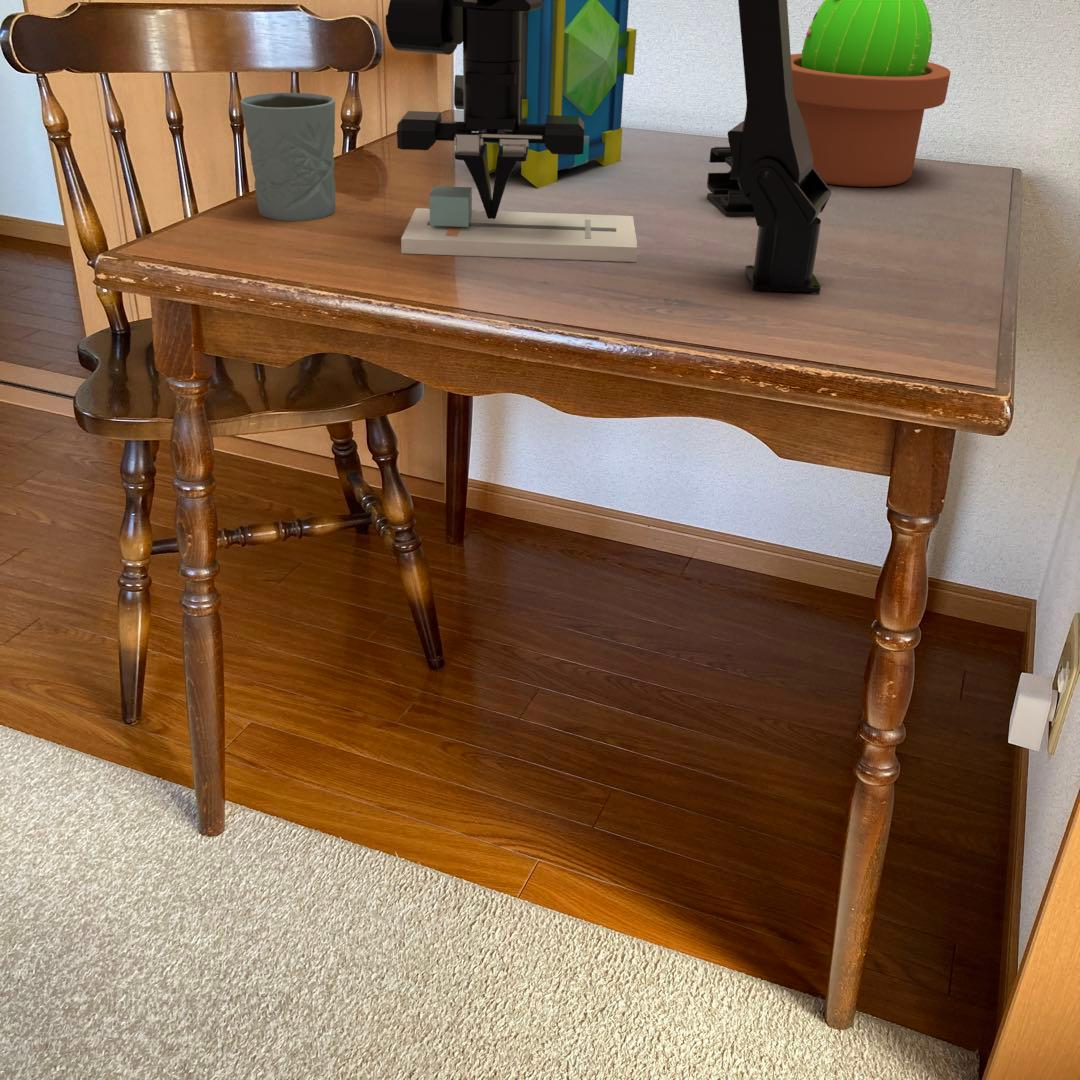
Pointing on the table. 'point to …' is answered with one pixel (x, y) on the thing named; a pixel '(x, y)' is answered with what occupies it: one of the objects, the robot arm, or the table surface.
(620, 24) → the decorative book
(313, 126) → the grey-green plant pot
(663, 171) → the table surface
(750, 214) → the end cap
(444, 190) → the fader tab
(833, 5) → the potted cactus
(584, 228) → the fader panel
